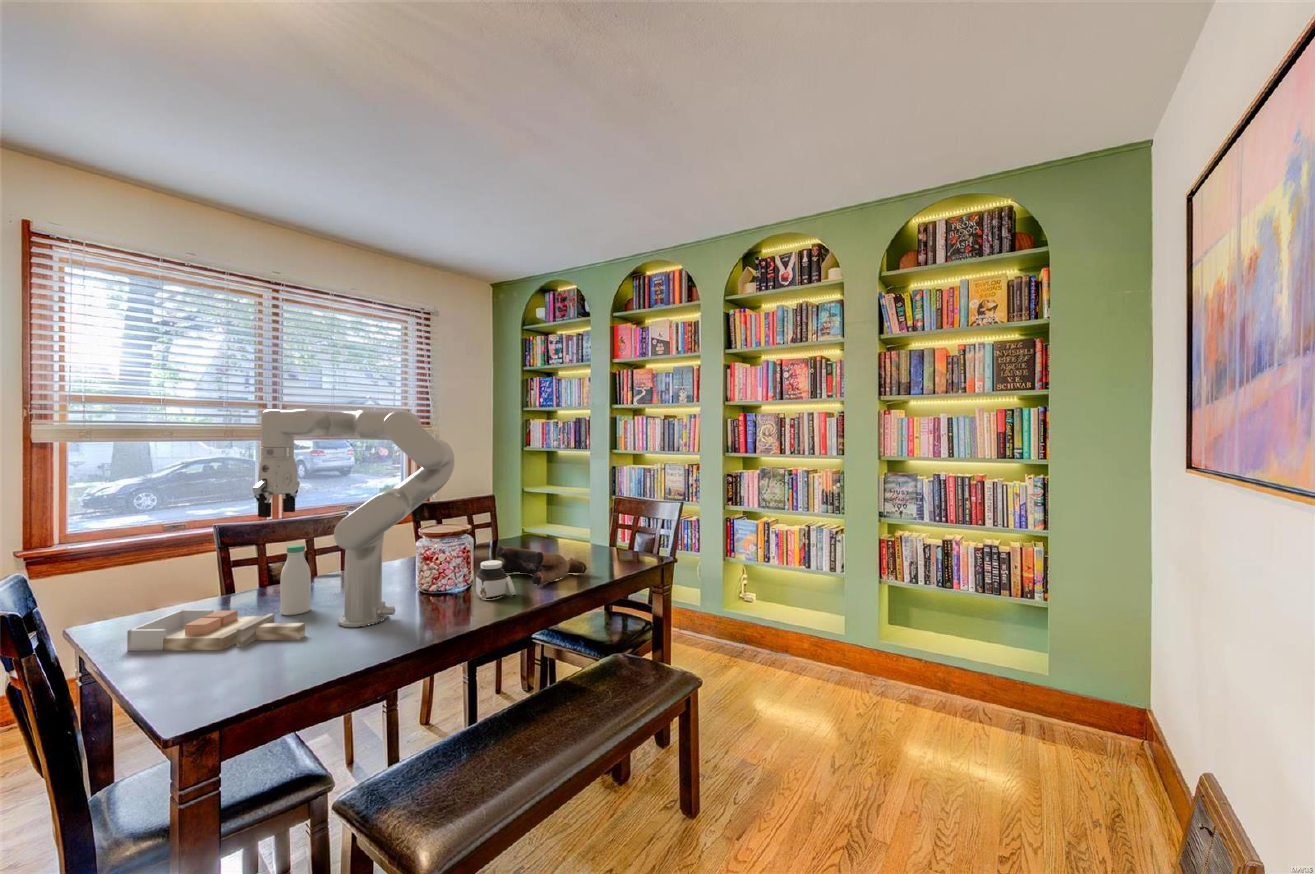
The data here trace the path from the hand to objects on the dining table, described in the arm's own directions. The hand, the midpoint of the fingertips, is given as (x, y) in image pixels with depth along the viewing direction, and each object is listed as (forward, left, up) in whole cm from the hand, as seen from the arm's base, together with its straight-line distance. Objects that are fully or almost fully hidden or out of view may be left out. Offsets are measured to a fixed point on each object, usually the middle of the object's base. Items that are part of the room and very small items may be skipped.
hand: (277, 514), depth 151 cm
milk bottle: (+2, -12, -32) cm, 34 cm away
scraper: (-7, +9, -31) cm, 33 cm away
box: (+20, +9, -31) cm, 38 cm away
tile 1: (+10, +12, -28) cm, 33 cm away
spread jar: (-55, -26, -32) cm, 68 cm away
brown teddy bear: (-65, -52, -32) cm, 89 cm away
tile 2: (+10, +6, -28) cm, 31 cm away
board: (+9, +9, -31) cm, 34 cm away
